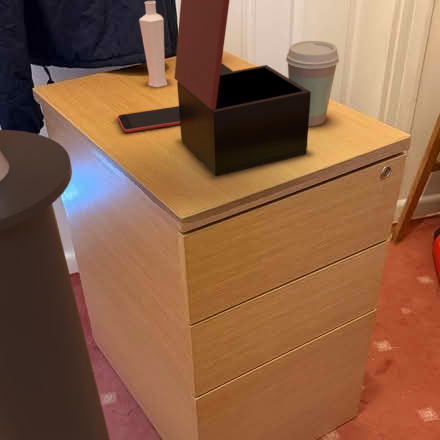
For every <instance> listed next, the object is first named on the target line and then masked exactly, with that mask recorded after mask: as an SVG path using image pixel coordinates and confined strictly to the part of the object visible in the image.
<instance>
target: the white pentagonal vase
mask: <svg viewBox="0 0 440 440" xmlns="http://www.w3.org/2000/svg"><path fill="white" fill-rule="evenodd" d="M156 3H157V2H156V0H147V1H144V7H145V14H143V16H142V17H140V18H139V19H138V21H139V27H140V32H141V37H142V42H143V49H144V55H145V61H146V66H147V73H148V81H147V85H148V86H150V87H153V88H160V87H164V86H168V81H167V79H166V63H165V60H166V59H165V26H164V25H165V23H164V17H163V16H162V15H161V14H159V13H157V8H156Z"/></svg>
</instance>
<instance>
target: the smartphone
mask: <svg viewBox="0 0 440 440" xmlns="http://www.w3.org/2000/svg"><path fill="white" fill-rule="evenodd" d="M117 121H118V123H119V126H120V128H121V130H122V131H123V132H124V133H131V132H133V133H134V132H139V131H144V130H151V129H158V128H164V127H170V126H177V125H180V114H179V105H177V106H170V107H163V108H157V109H150V110H149V109H148V110H144V111H137V112H131V113H123V114H119V115H118V116H117Z"/></svg>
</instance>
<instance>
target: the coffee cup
mask: <svg viewBox="0 0 440 440" xmlns="http://www.w3.org/2000/svg"><path fill="white" fill-rule="evenodd" d="M339 58H340V55H339V53H338V48H337V46H336V44H333V43H331V42H328V41H323V40H304V41H303V40H302V41H298V42H295V43H293V44H291V45H290V47H289V50H288V53H287V54H286V57H285V61H286V63H287V70H288V71H287V73H288V78H289V79H290V80H292V81H294V82H295V83H297V84H299V85H300V86H302V87H304V88H305V89H307V90H309V91H310V92H311V98H310V112H309V125H308V127H315V126H320V125H322V124H324V122H325V121H326V116H327V113H328V107H329V103H330V98H331V95H332V94H331V93H332V88H333V83H334V78H335V73H336V69H337V65H338V63H340V59H339Z"/></svg>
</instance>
